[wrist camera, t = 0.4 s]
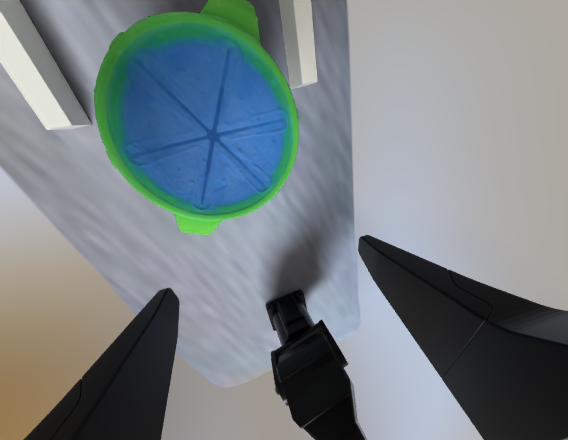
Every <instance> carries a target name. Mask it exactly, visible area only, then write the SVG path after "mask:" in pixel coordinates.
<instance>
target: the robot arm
mask: <svg viewBox="0 0 568 440" xmlns="http://www.w3.org/2000/svg"><path fill="white" fill-rule="evenodd" d="M358 251H359V254H360V256H361V258H362V260H363V261H364V263H365V265H366V267H367V269H368V271H369V272H370V274H371V276H372V278H373V280H374V281H375V282H376V284H377V286H378V287H379V289H380V290H381V292H382V293H383V294H384V296H385V297H386V299H387V300H388V302H389V303H390V305H391V306H392V307H393V309H394V310H395V312H396V313H397V315H398V316H399V318H400V319H401V320H402V322H403V323H404V325H405V326H406V328H407V329H408V331H409V332H410V333H411V335H412V336H413V338H414V339H415V341H416V342H417V344H418V345H419V346H420V348H421V349H422V351H423V352H424V354H425V355H426V357H427V358H428V359H429V361H430V362H431V364H432V365H433V367H434V368H435V370H436V371H437V372H438V374H439V375H440V377H441V378H442V380H443V381H444V383H445V384H446V386H447V387H448V388H449V390H450V391H451V393H452V394H453V396H454V397H455V399H456V400H457V401H458V403H459V404H460V406H461V407H462V409H463V410H464V411H465V413H466V414H467V416H468V417H469V418H470V420H471V422H472V423H473V425H474V426H475V427H476V429H477V430H478V432H479V433H480V435H481V436H482V438H483V439H484V440H568V311H564V310H559V309H554V308H550V307H547V306H543V305H540V304H537V303H534V302H532V301H529V300H526V299H524V298H521V297H518V296H515V295H513V294H510V293H507V292H504V291H502V290H499V289H496V288H493V287H491V286H488V285H486V284H483V283H480V282H477V281H475V280H473V279H470V278H467V277H465V276H463V275H460V274H458V273H456V272H453V271H451V270H447V269H446V268H444V267H441V266H439V265H437V264H435V263H432V262H430V261H427V260H425V259H423V258H420V257H418V256H416V255H414V254H411V253H409V252H406V251H404V250H402V249H400V248H397V247H395V246H393V245H390V244H388V243H386V242H383V241H381V240H379V239H376V238H374V237H372V236H369V235H365V236H361V237H360V238H359V246H358ZM266 309H267V312H268V315H269V318H270V321H271V324H272V327H273V330H274V331H275V330H276V331H277V334H278V337H279V339H280V342H281V345H282V346H281V347H280V348H278V349H277V350H275V351H272V352H271V361H272V368H273V374H274V380H275V390H276V393H277V394H278V395H280V396H281V398H282V399H283V401H284V403H285V404H286V405H287V406H288V405H289V408H290V411H291V415H292V418H293V420H294V421H295V422H296V424H297V425H298V426H299V427H300V428H304V429H305V430H306V431H307V432H308V433H309V434H310V435H311V436H312V437H313V438H314V439H315V440H367V438H366V436H365V435H364V433H363V431H362V429H361V427H360V425H359V423H358V420H357V412H356V403H355V394H354V386H353V383H352V382H351V380H350V378H349V376H348V375H347V373H346V371H345V369H344V367H345V366H347V365H348V363H347V361H346V359H345V357H344V356H343V354H342V352H341V350H340V349H339V347H338V345H337V344H336V342H335V340H334V339H333V337H332V335H331V334H330V332H329V330H328V329H327V327H326V326H325V324H324V322H323V321H322V320H320V321H319V322H318V323H317V324H314V323H313V321H312V319H311V317H310V315H309V314H308V312H307V309H306V304H305V298H304V293H303V291H302V290H299V291H297V292H295V293H292V294H290V295H288V296H285V297H283V298H280V299H278V300H276V301H273V302H271V303H269V304H267V305H266ZM178 321H179V299H178V297H177V296H176V294H175V293H174V292H173V290H172V289H171V288H166V289H162V290H160V291H158V292H157V294H156V295H155V296H154V297H153V298H152V299H151V300H150V301H149V303H148V304H147V305H146V306H145V307H144V308H143V309H142V310H141V311H140V313H139V314H138V315H137V316H136V317H135V318H134V319H133V321H132V322H131V323H130V324H129V325H128V326H127V327H126V328H125V329H124V331H123V332H122V333H121V334H120V335H119V336H118V337H117V338H116V340H115V341H114V342H113V343H112V344H111V345H110V346H109V347H108V349H107V350H106V351H105V352H104V353H103V354H102V355H101V356H100V357H99V359H98V360H97V361H96V362H95V363H94V364H93V365H92V366H91V367H90V369H89V370H88V371H87V372H86V373H85V374H84V376H83V377H82V379H80V380H79V381H78V382H77V383H76V384H75V385H74V386H73V388H72V389H71V390H70V391H69V392H68V393H67V394H66V395H65V396H64V398H63V399H62V400H61V401H60V402H59V403H58V404H57V405H56V406H55V407H54V409H53V410H52V411H51V412H50V413H49V414H48V415H47V416H46V417H45V418H44V419H43V420H42V421H41V422H40V423H39V424H38V425H37V427H35V428H34V429H33V430H32V432H31V433H30V434H29V435H28V436H27V437H26V438H25V439H24V440H161V434H162V429H163V422H164V416H165V410H166V404H167V398H168V392H169V386H170V380H171V374H172V368H173V362H174V356H175V350H176V344H177V337H178Z"/></svg>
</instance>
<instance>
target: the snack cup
mask: <svg viewBox="0 0 568 440" xmlns="http://www.w3.org/2000/svg"><path fill="white" fill-rule="evenodd" d="M94 93H95V94H94V102H95V114H96V120H97V124H98V128H99V132H100V135H101V138H102V141H103V143H104V145H105V148H106V152H107V154H108V156H109V158H110V160H111V163H112V165H113V166H114V167H115V168H117V169H118V170H119V172H120V173H121V174H122V175H123V176H124V178H125V179H126V180H127V181H128V182H129V183H130V184H131V185H132V186H133V187H134V188H135V189H136V190H137V191H138V192H139V193H140V194H142V195H143V196H144V197H146V198H147V199H149V200H150V201H152V202H153V203H155V204H156V205H158V206H160V207H162V208H164V209H166V210H168V211H170V212H172V213H174V216H175V218H176V221H177V224H178V227H179V229H180V230H181V231H182V232H184V233H190V234H200V235H208V234H211V233H212V232H213V231H214V230H215V229H216V227H217V226H218V225H219V224H220V222H222V220H227V219H233V218H237V217H240V216H243V215H246V214H249V213H251V212H253V211H255V210H256V209H258V208H260V207H261V206H263V205H264V204H265V203H267V202H268V201H269V200H271V199H272V198H273V197H275V195H276V194H277V193H278V192H279V190H280V188H281V187H282V186H283V184H284V183H285V181H286V180H287V178H288V176H289V174H290V172H291V170H292V167H293V165H294V162H295V158H296V154H297V148H298V139H299V125H298V124H299V117H298V111H297V108H296V106H295V102H294V99H293V95H292V92H291V90H290V88H289V85H288V83H287V81H286V79H285V77H284V75H283V74H282V72H281V71H280V69H279V67H278V66H277V64H276V63H275V61H274V60H273V59H272V58H271V56H270V55H269V54H268V53H267V52H266V51H265V50H264V49H263V48H262V46H261V41H260V37H259V29H258V17H257V16H256V12H255V9H254V6H253V5H252V4H251V3H250V2H248V1H247V0H208V2H207V4H206V5H205V7H204V8H203V10H202V11H201V12H200V13H193V12H183V11H181V12H167V13H160V14H157V15H153V16H148V17H147V18H145V19H142V20H140V21H138V22H137V23H135V24H134V25H132V26H131V27H130V28H129V29H128V30H126V31H125V32H121V33H119V34H118V35H117V36H116V38H115V39H114V40H113V41H112V42H111V45H110V47H109V50H108V52H107V54H106V56H105V57H104V60H103V62H102V64H101V67H100V70H99V73H98V76H97V80H96V86H95V89H94Z"/></svg>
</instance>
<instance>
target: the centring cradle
mask: <svg viewBox="0 0 568 440" xmlns="http://www.w3.org/2000/svg"><path fill="white" fill-rule="evenodd" d="M279 7H280V15H281V22H282V30H283V37H284V45H285V52H286V60H287V67H288V74H289V82H290V89H294V88H300V87H304V86H307V85H310V84H313V83H315V82H317V71H316V58H315V46H314V33H313V20H312V7H311V0H279ZM0 63H1V64H2V65H3V67H4V68H5V70H6V71H7V73H8V74H9V76H10V77H11V78H12V80H13V81H14V83H15V84H16V86H17V87H18V89H19V90H20V92H21V93H22V94H23V96H24V97H25V99H26V100H27V102H28V103H29V105H30V106H31V108H32V109H33V110H34V112H35V113H36V115H37V116H38V118H39V119H40V121H41V122H42V123H43V125H44V126H45V128H46V129H47V130H56V129H73V128H79V127H84V126H90V125H92V124H91V122H90V121H89V119H88V117H87V115H86V114H85V112H84V110H83V109H82V107H81V105H80V103H79V102H78V100H77V98H76V97H75V95H74V93H73V91H72V90H71V88H70V86H69V85H68V83H67V81H66V79H65V78H64V76H63V74H62V72H61V71H60V69H59V67H58V66H57V64H56V62H55V60H54V59H53V57H52V55H51V54H50V52H49V50H48V48H47V47H46V45H45V43H44V42H43V40H42V38H41V36H40V35H39V33H38V31H37V30H36V28H35V26H34V24H33V23H32V21H31V19H30V18H29V16H28V14H27V12H26V11H25V9H24V7H23V5H22V4H21V2H20V0H0Z"/></svg>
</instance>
